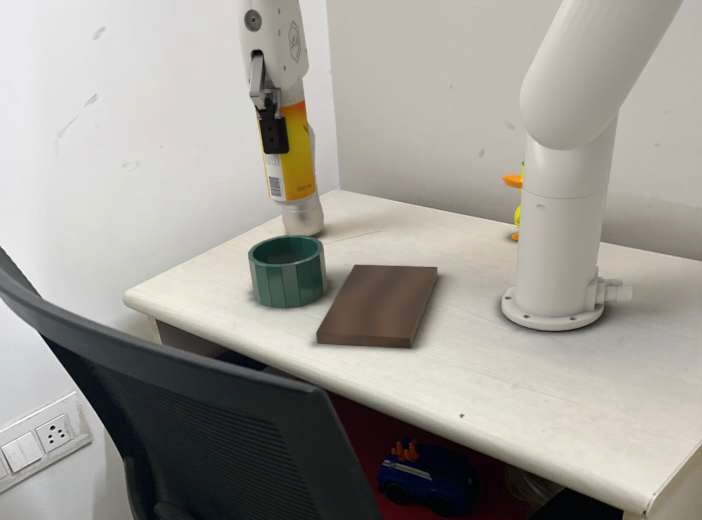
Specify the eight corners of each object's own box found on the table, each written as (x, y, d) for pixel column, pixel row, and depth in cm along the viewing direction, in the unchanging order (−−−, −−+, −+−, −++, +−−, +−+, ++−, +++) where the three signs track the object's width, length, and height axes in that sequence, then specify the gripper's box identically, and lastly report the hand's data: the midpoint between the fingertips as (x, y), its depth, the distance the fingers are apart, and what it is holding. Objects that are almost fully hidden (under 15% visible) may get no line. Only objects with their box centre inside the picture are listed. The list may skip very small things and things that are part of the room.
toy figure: (493, 237, 117) (497, 154, 109) (507, 229, 119) (512, 147, 111) (532, 246, 113) (539, 162, 105) (545, 238, 115) (553, 154, 107)
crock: (335, 275, 112) (331, 235, 108) (315, 309, 105) (310, 267, 101) (268, 273, 115) (262, 234, 111) (244, 306, 107) (236, 265, 103)
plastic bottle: (321, 241, 122) (307, 104, 109) (280, 242, 123) (261, 106, 110) (329, 225, 127) (316, 92, 114) (289, 226, 128) (272, 94, 115)
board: (437, 276, 109) (437, 266, 108) (410, 348, 94) (410, 337, 93) (355, 274, 112) (354, 264, 111) (316, 343, 98) (315, 332, 97)
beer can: (325, 192, 101) (310, 64, 91) (299, 209, 97) (281, 77, 87) (287, 188, 103) (269, 63, 94) (260, 205, 100) (239, 76, 90)
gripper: (268, -20, 77) (293, 167, 89) (316, -44, 89) (333, 122, 101) (199, -13, 79) (233, 168, 91) (256, -38, 91) (279, 124, 103)
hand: (285, 142), depth 96 cm, fingers closed on beer can, 6 cm apart
